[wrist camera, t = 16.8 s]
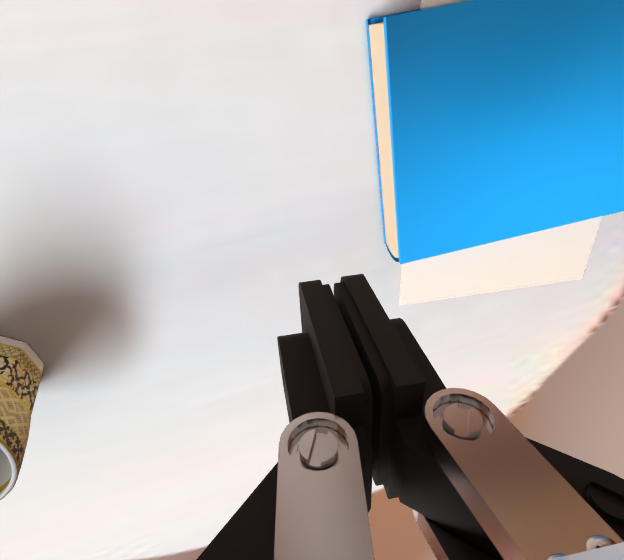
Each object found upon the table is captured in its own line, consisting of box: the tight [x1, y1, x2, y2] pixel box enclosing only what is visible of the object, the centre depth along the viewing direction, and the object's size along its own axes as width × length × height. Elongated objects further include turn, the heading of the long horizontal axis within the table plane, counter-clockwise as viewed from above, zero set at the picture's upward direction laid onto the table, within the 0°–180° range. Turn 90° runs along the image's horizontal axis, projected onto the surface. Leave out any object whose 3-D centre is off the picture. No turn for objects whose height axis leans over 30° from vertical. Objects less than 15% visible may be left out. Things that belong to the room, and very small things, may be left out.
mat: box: [399, 0, 602, 306], centre depth 32 cm, size 31×19×1 cm, turn 3°
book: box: [366, 0, 624, 264], centre depth 30 cm, size 17×4×25 cm
